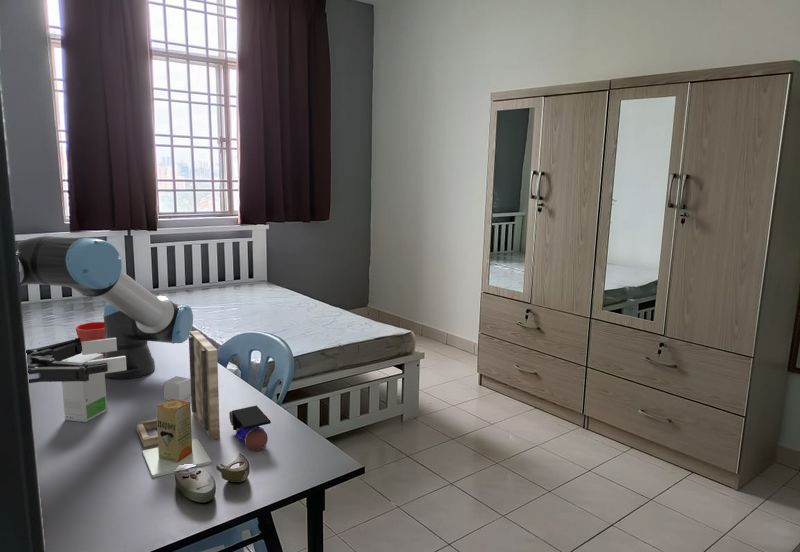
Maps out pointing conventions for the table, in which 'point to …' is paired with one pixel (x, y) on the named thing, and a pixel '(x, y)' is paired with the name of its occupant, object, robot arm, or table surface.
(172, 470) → the sage mat
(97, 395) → the skincare box
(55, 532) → the table surface
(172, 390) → the white cube
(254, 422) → the figurine character
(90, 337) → the flower pot
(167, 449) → the shoe polish box
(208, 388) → the board
